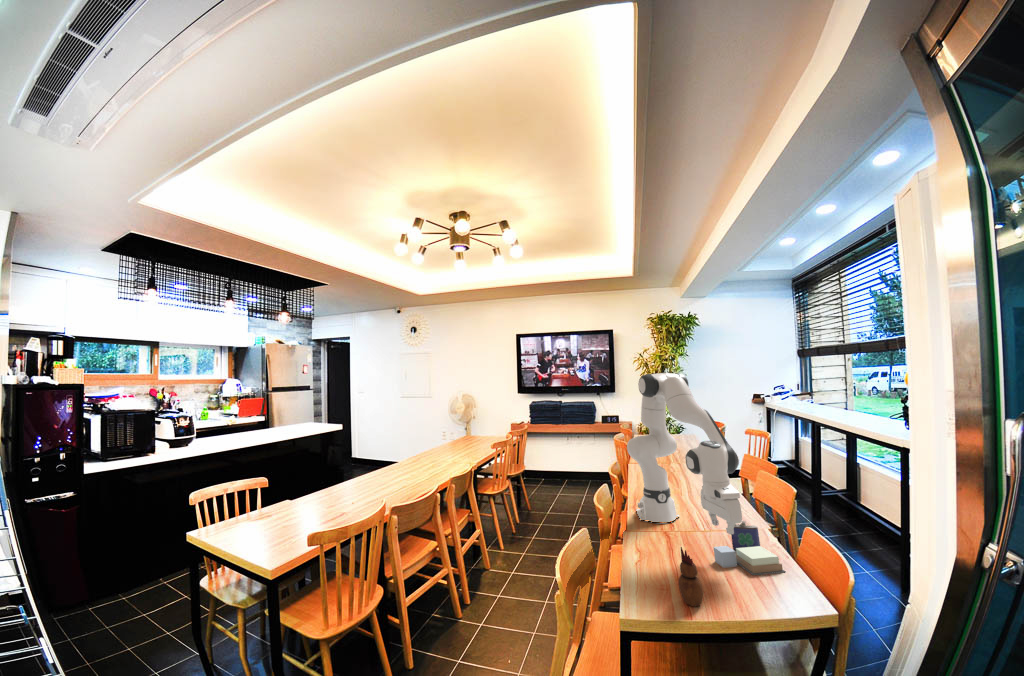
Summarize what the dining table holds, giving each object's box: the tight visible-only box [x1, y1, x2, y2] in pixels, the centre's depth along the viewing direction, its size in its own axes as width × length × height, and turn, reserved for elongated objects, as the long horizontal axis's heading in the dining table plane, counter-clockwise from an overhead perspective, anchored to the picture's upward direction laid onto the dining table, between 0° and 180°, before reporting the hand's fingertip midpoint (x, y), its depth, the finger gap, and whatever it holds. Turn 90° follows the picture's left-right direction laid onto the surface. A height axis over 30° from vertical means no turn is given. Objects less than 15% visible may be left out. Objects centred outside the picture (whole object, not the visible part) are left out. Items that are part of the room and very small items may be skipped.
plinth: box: [735, 545, 784, 573], centre depth 137 cm, size 10×10×4 cm
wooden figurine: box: [678, 546, 704, 607], centre depth 118 cm, size 7×6×15 cm
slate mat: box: [737, 562, 786, 576], centre depth 137 cm, size 11×11×1 cm
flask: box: [730, 520, 761, 552], centre depth 150 cm, size 9×3×11 cm, turn 68°
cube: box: [713, 545, 738, 569], centre depth 141 cm, size 5×5×5 cm
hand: (722, 529), depth 141 cm, fingers open, 8 cm apart
